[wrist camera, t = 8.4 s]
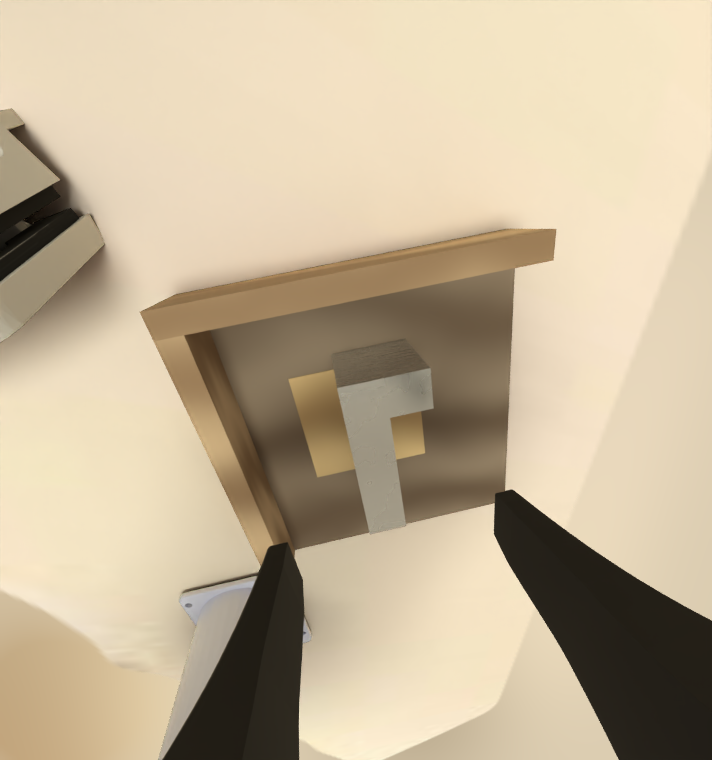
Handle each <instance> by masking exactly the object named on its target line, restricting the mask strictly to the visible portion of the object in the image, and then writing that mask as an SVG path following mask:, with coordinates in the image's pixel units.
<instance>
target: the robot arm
mask: <svg viewBox="0 0 712 760" xmlns="http://www.w3.org/2000/svg"><path fill="white" fill-rule="evenodd" d="M494 535H495V537H496V539H497V541H498V543H499V545H500V548H501V550H502V552H503V554H504V556H505V558H506V560H507V562H508V563H509V565H510V567H511V569H512V570H513V572H514V573H515V575H516V577H517V578H518V580H519V582H520V583H521V585H522V586H523V588H524V590H525V591H526V593H527V594H528V596H529V597H530V599H531V601H532V602H533V604H534V605H535V607H536V609H537V610H538V611H539V613H540V615H541V616H542V618H543V620H544V621H545V623H546V624H547V626H548V627H549V629H550V631H551V632H552V634H553V635H554V637H555V639H556V640H557V642H558V644H559V645H560V647H561V649H562V651H563V652H564V654H565V656H566V658H567V660H568V661H569V663H570V665H571V667H572V669H573V671H574V673H575V675H576V676H577V679H578V680H579V682H580V684H581V686H582V688H583V690H584V692H585V693H586V696H587V698H588V699H589V701H590V703H591V705H592V707H593V709H594V711H595V713H596V715H597V717H598V719H599V721H600V723H601V725H602V727H603V729H604V731H605V732H606V735H607V737H608V739H609V741H610V743H611V744H612V747H613V749H614V751H615V753H616V755H617V757H618V759H619V760H712V621H711V620H709V619H708V618H706V617H703V616H702V615H700V614H698V613H696V612H694V611H692V610H691V609H689V608H687V607H685V606H683V605H681V604H680V603H678V602H676V601H674V600H673V599H671V598H669V597H667V596H666V595H663V594H662V593H660V592H659V591H657V590H655V589H654V588H652V587H650V586H649V585H647V584H645V583H644V582H642V581H640V580H639V579H637V578H635V577H634V576H632V575H631V574H629V573H627V572H626V571H624V570H623V569H621V568H619V567H618V566H617V565H615V564H614V563H612V562H611V561H609V560H608V559H606V558H605V557H603V556H602V555H600V554H599V553H597V552H595V551H594V550H593V549H591V548H590V547H588V546H587V545H585V544H584V543H583V542H581V541H580V540H578V539H577V538H576V537H574V536H573V535H572V534H570V533H569V532H567V531H566V530H565V529H563V528H562V527H561V526H559V525H558V524H557V523H555V522H554V521H553V520H551V519H550V518H549V517H547V516H546V515H545V514H543V513H542V512H541V511H539V510H538V509H537V508H536V507H534V506H533V505H532V504H530V503H529V502H528V501H527V500H525V499H524V498H523V497H522V496H520V495H519V494H518V493H516V492H515V491H514V490H508V491H504V492H499V493H495V514H494ZM179 603H180V604H181V606H182V607H183V608H184V610H185V611H186V613H187V614H188V615H189V617H190V618H191V620H192V621H193V622H194V624H195V625H196V629H195V632H194V636H193V639H192V643H191V646H190V650H189V653H188V657H187V660H186V664H185V667H184V671H183V674H182V678H181V681H180V685H179V688H178V692H177V695H176V699H175V702H174V706H173V709H172V713H171V716H170V720H169V723H168V726H167V730H166V734H165V737H164V741H163V744H162V748H161V751H160V754H159V758H158V760H299V697H300V679H301V662H302V645H303V643H305V642H309V641H310V640H311V631H310V629H309V627H308V624H307V622H306V620H305V617H304V597H303V579H302V577H301V574H300V572H299V569H298V567H297V564H296V562H295V559H294V557H293V554H292V552H291V549H290V546H289V544H288V542H285V543H281V544H277V545H272V546H269V548H268V549H267V551H266V554H265V557H264V560H263V562H262V565H261V568H260V570H259V573H258V575H257V576H253V577H249V578H245V579H241V580H236V581H232V582H228V583H224V584H219V585H215V586H211V587H207V588H203V589H198V590H194V591H190V592H186V593H183V594H182V595H181V596H180V599H179Z"/></svg>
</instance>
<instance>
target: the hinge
mask: <svg viewBox="0 0 712 760" xmlns="http://www.w3.org/2000/svg"><path fill="white" fill-rule="evenodd" d="M23 124H24V122H23V121H22V120H21V119H20V118H19V116H18V115H17V114H16V113H15V112H14V110H13V109H6V110H1V111H0V342H2V341H3V340H5V339H6V338H8V337H9V336H11V335H12V334H13V333H15V332H16V331H17V330H19V329H20V328H21V327H22V326H23V325H24V324H25V323H26V322H27V321H28V320H29V319H30V318H31V317H32V316H33V315H34V314H35V313H36V312H37V311H38V310H39V309H40V308H41V307H42V306H43V305H44V304H45V303H46V302H47V301H48V300H49V299H50V298H51V297H52V296H53V295H54V294H55V293H56V292H57V291H58V290H59V289H60V288H61V287H62V286H63V285H64V284H65V283H66V282H67V281H68V280H69V279H70V278H71V277H72V276H73V275H74V274H75V273H76V272H77V271H78V270H79V269H80V268H81V267H82V266H83V265H84V264H85V263H86V262H87V261H88V260H89V259H90V258H91V257H92V256H93V255H94V254H95V253H96V252H97V251H98V250H99V249H100V248H101V247H102V246H103V245H104V244H105V243H104V241H103V238H102V236H101V233H100V231H99V229H98V228H97V226H96V224H95V223H94V221H93V219H92V218H91V216H90V214H87V215H84V216H81V217H78V216H77V214H76V213H75V212H74V211H73V210H72V209H71V208H70V209H67V210H65V211H62V212H60V213H57V214H55V215H52V216H50V217H48V218H45V219H43V220H40V221H38V222H35V223H33V224H29V223H27V222H25V221H23V220H24V219H25V218H27V217H28V216H30V215H32V214H33V213H35V212H36V211H38V210H39V209H41V208H43V207H44V206H46V205H47V204H49V203H51V202H52V201H54V200H55V199H57V198H58V197H60V195H59V194H58V193H57V192H56V190H55V189H54V188H53V187H52V186H51V185H52V184H54V183H56V182H57V181H59V180H60V179H59V178H58V177H57V176H56V175H55V174H54V173H53V172H51V171H50V170H49V169H48V168H47V167H46V166H45V165H44V164H43V163H42V162H41V161H40V160H39V159H38V158H37V157H36V156H34V155H33V154H32V153H31V152H30V151H29V150H28V149H27V148H26V147H25V146H24V145H23V144H22V143H21V142H20V141H19V140H17V139H16V138H15V137H14V136H13V135H12V134H11V133H10V132H9V130H11V129H14V128H16V127H18V126H21V125H23Z"/></svg>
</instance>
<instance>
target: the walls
mask: <svg viewBox="0 0 712 760" xmlns="http://www.w3.org/2000/svg"><path fill="white" fill-rule="evenodd" d="M555 237H556V229H504V230H499V231H494V232H489V233H484V234H479V235H474V236H469V237H464V238H459V239H454V240H449V241H444V242H439V243H434V244H429V245H423V246H418V247H413V248H408V249H403V250H398V251H393V252H388V253H383V254H378V255H373V256H368V257H363V258H358V259H353V260H348V261H343V262H338V263H333V264H328V265H322V266H317V267H312V268H307V269H302V270H297V271H292V272H287V273H282V274H277V275H272V276H267V277H262V278H257V279H252V280H247V281H242V282H237V283H232V284H227V285H221V286H216V287H211V288H206V289H201V290H196V291H191V292H186V293H181V294H176V295H173V296H171V297H169V298H167V299H165V300H163V301H161V302H159V303H157V304H155V305H153V306H151V307H149V308H147V309H145V310H143V311H141V312H140V314H141V316H142V318H143V320H144V322H145V324H146V326H147V328H148V330H149V332H150V335H151V337H152V339H153V341H154V343H155V345H156V347H157V349H158V351H159V353H160V356H161V358H162V360H163V362H164V364H165V366H166V368H167V370H168V372H169V374H170V377H171V379H172V381H173V383H174V385H175V387H176V389H177V391H178V393H179V395H180V398H181V400H182V402H183V404H184V406H185V408H186V410H187V412H188V414H189V416H190V419H191V421H192V423H193V425H194V427H195V429H196V431H197V433H198V435H199V437H200V440H201V442H202V444H203V446H204V448H205V450H206V452H207V454H208V456H209V458H210V461H211V463H212V465H213V467H214V469H215V471H216V473H217V475H218V477H219V479H220V482H221V484H222V486H223V488H224V490H225V492H226V494H227V496H228V498H229V500H230V503H231V505H232V507H233V509H234V511H235V513H236V515H237V517H238V519H239V521H240V524H241V526H242V528H243V530H244V532H245V534H246V536H247V538H248V540H249V542H250V545H251V547H252V549H253V551H254V553H255V555H256V557H257V559H258V561H259V563H260V566H261V565H262V562H263V560H264V557H265V554H266V551H267V549H268V548H269V546H272V545H277V544H281V543H285V542H288V544H289V546H290V549H291V552H292V554H293V557H294V555H295V549H294V547H293V544H292V542H291V539H290V536H289V534H288V531H287V529H286V526H285V524H284V521H283V518H282V516H281V513H280V511H279V508H278V506H277V503H276V500H275V498H274V495H273V493H272V490H271V488H270V485H269V482H268V480H267V477H266V475H265V472H264V470H263V467H262V464H261V462H260V459H259V457H258V454H257V452H256V449H255V446H254V444H253V441H252V439H251V436H250V434H249V431H248V428H247V426H246V423H245V421H244V418H243V416H242V413H241V410H240V408H239V405H238V403H237V400H236V398H235V395H234V392H233V390H232V387H231V385H230V382H229V380H228V377H227V374H226V372H225V369H224V367H223V364H222V362H221V359H220V356H219V354H218V351H217V349H216V346H215V344H214V341H213V338H212V336H211V333H210V331H209V330H213V329H218V328H223V327H228V326H232V325H237V324H242V323H247V322H252V321H257V320H262V319H267V318H272V317H277V316H282V315H287V314H291V313H296V312H301V311H306V310H311V309H316V308H321V307H326V306H331V305H336V304H341V303H346V302H350V301H355V300H360V299H365V298H370V297H375V296H380V295H385V294H390V293H395V292H400V291H405V290H409V289H414V288H419V287H424V286H429V285H434V284H439V283H444V282H449V281H454V280H459V279H464V278H468V277H473V276H478V275H483V274H488V273H493V272H498V271H503V270H508V269H513V268H518V267H523V266H527V265H532V264H537V263H542V262H547V261H552V260H553V258H554V248H555Z"/></svg>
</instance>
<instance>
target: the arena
mask: <svg viewBox="0 0 712 760" xmlns="http://www.w3.org/2000/svg"><path fill="white" fill-rule="evenodd" d="M514 272H515V268H513V269H508V270H503V271H498V272H493V273H488V274H483V275H478V276H473V277H468V278H464V279H459V280H454V281H449V282H444V283H439V284H434V285H429V286H424V287H419V288H414V289H409V290H405V291H400V292H395V293H390V294H385V295H380V296H375V297H370V298H365V299H360V300H355V301H350V302H346V303H341V304H336V305H331V306H326V307H321V308H316V309H311V310H306V311H301V312H296V313H291V314H287V315H282V316H277V317H272V318H267V319H262V320H257V321H252V322H247V323H242V324H237V325H232V326H228V327H223V328H218V329H213V330H209V331H210V333H211V336H212V338H213V341H214V344H215V346H216V349H217V351H218V354H219V356H220V359H221V362H222V364H223V367H224V369H225V372H226V374H227V377H228V380H229V382H230V385H231V387H232V390H233V392H234V395H235V398H236V400H237V403H238V405H239V408H240V410H241V413H242V416H243V418H244V421H245V423H246V426H247V428H248V431H249V434H250V436H251V439H252V441H253V444H254V446H255V449H256V452H257V454H258V457H259V459H260V462H261V464H262V467H263V470H264V472H265V475H266V477H267V480H268V482H269V485H270V488H271V490H272V493H273V495H274V498H275V500H276V503H277V506H278V508H279V511H280V513H281V516H282V518H283V521H284V524H285V526H286V529H287V531H288V534H289V536H290V539H291V542H292V544H293V547H294V549H295V550H296V549H300V548H305V547H309V546H313V545H318V544H322V543H326V542H330V541H335V540H339V539H343V538H347V537H352V536H356V535H360V534H365V533H369V528H368V524H367V519H366V515H365V510H364V506H363V501H362V497H361V492H360V488H359V483H358V479H357V475H356V470H355V466H354V461H353V457H352V452H351V448H350V443H349V439H348V435H347V430H346V426H345V421H344V417H343V412H342V408H341V403H340V399H339V394H338V390H337V385H336V379H335V373H334V367H333V361H332V355H331V354H335V353H340V352H345V351H350V350H354V349H359V348H364V347H369V346H373V345H378V344H383V343H388V342H392V341H397V340H402V339H406V340H407V341H408V343H409V344H410V345H411V346H412V347H413V348H414V350H415V351H416V352H417V353H418V354H419V355H420V356H421V358H422V359H423V360H424V361H425V362H426V363H427V365H428V366H429V367H430V368H431V381H432V394H433V407H434V408H433V409H429V410H424V411H420V412H415V413H410V414H406V415H401V416H397V417H392V418H390V421H391V428H392V434H393V441H394V448H395V455H396V461H397V468H398V475H399V481H400V488H401V495H402V502H403V508H404V515H405V522H406V524H407V523H412V522H416V521H420V520H424V519H429V518H433V517H437V516H442V515H446V514H450V513H454V512H459V511H463V510H467V509H471V508H476V507H480V506H484V505H489V504H493V503H495V493H499V492H504V491H505V476H506V453H507V431H508V408H509V385H510V362H511V340H512V317H513V294H514Z"/></svg>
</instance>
